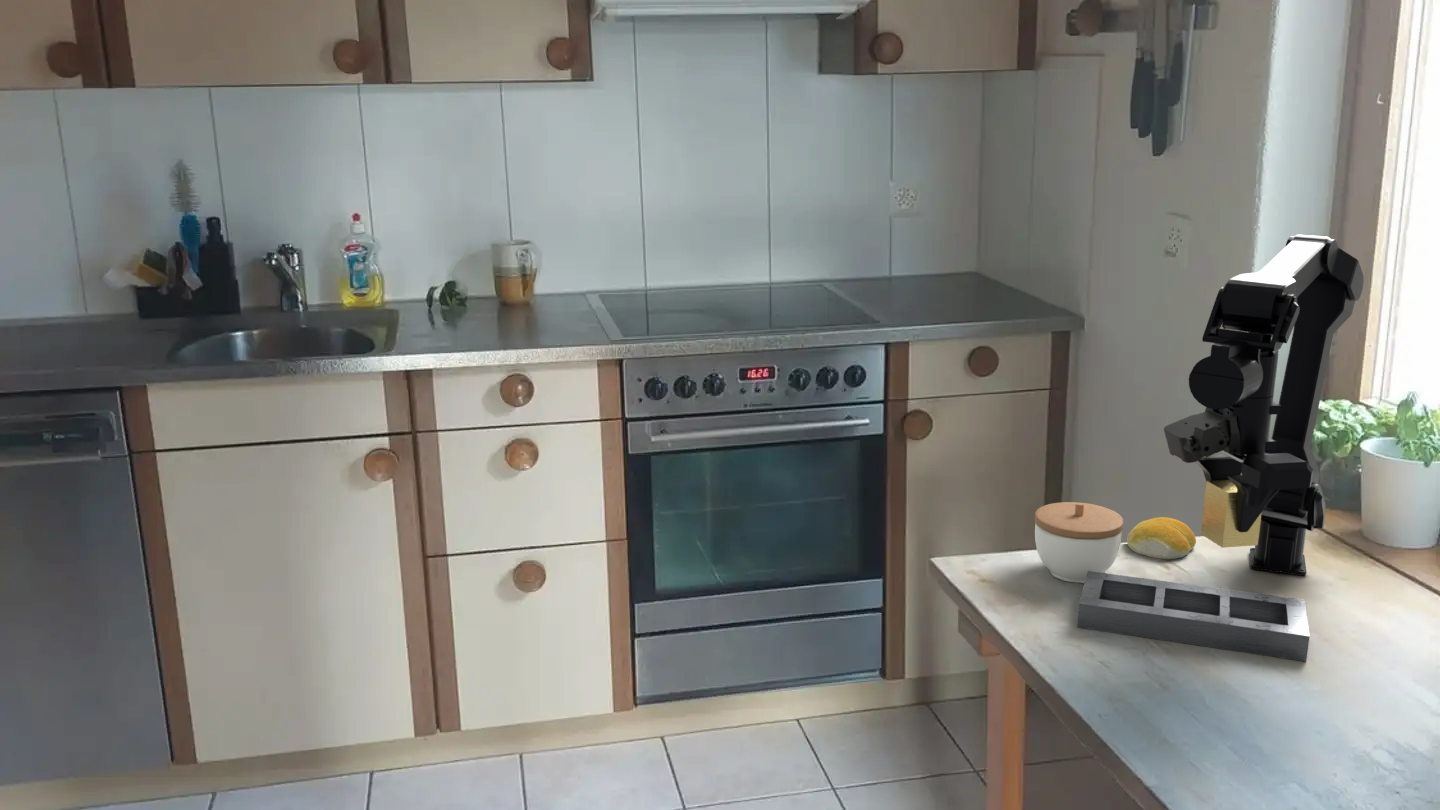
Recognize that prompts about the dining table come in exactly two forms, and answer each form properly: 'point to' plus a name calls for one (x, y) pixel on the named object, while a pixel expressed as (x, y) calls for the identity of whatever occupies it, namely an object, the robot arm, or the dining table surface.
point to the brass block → (1225, 516)
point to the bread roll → (1161, 538)
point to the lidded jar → (1077, 539)
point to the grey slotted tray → (1195, 615)
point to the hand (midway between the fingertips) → (1230, 524)
